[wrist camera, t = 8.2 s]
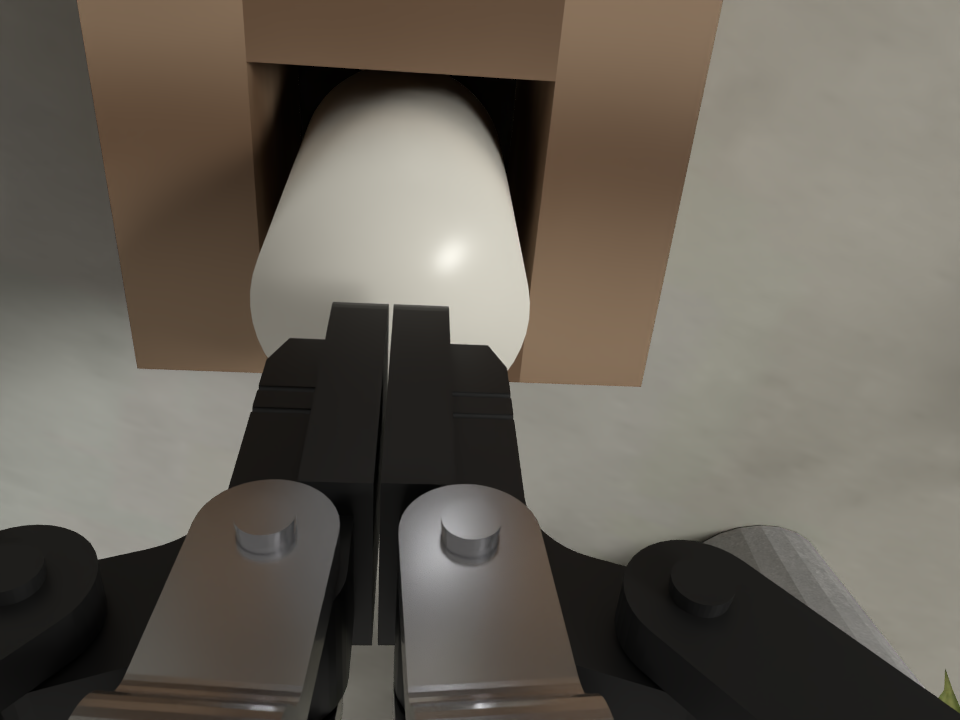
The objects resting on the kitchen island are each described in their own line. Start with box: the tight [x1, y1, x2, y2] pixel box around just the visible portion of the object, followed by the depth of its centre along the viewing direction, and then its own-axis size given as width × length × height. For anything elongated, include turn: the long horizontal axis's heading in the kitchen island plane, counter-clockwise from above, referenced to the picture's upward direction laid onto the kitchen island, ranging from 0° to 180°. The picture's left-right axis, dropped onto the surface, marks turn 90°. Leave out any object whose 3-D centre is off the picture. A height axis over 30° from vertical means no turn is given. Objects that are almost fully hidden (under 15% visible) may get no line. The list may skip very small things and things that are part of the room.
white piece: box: [250, 69, 530, 374], centre depth 15 cm, size 4×4×6 cm
